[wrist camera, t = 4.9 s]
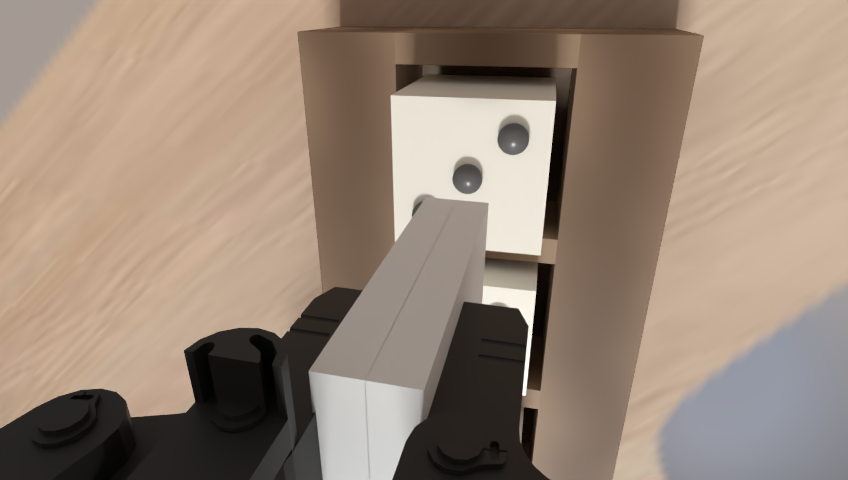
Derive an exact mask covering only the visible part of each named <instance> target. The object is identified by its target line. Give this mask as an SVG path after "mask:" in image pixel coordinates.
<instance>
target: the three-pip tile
mask: <svg viewBox="0 0 848 480" xmlns="http://www.w3.org/2000/svg"><path fill="white" fill-rule="evenodd" d="M555 108H556V78H541V77H502V76H463V75H426V76H424V77H422V78H420V79H419V80H417V81H415V82H413V83H412V84H410V85H408V86H406V87H404V88H403V89H401V90H399V91H397V92H396V93H394V94H392V95H391V126H392V160H393V195H394V229H395V242H396V241H397V239H398V238H399V236H400V235H401V233H402V232H403V230H404V229H405V227H406V226H407V224H408V223H409V221H410V220H411V218H412V217H413V216H414V214H415V213H416V211H417V210H418V208H419V207H420V205H421V204H422V202H423V201H424V199H425V198H426V197H429V198H440V199H451V200H462V201H474V202H485V203H489V206H488V221H487V236H486V250H487V251H498V252H508V253H519V254H529V255H540V256H541V247H542V237H543V227H544V217H545V207H546V197H547V187H548V177H549V167H550V157H551V148H552V138H553V128H554V118H555Z"/></svg>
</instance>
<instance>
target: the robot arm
mask: <svg viewBox="0 0 848 480" xmlns="http://www.w3.org/2000/svg"><path fill="white" fill-rule="evenodd" d="M488 206H489V203H485V202H474V201H462V200H451V199H440V198H429V197H426V198H425V199H424V201H423V202H422V204H421V205H420V207H419V208H418V210H417V211H416V213H415V214H414V216H413V217H412V218H411V220H410V221H409V223H408V224H407V226H406V227H405V229H404V230H403V232H402V233H401V235H400V236H399V238H398V239H397V241H396V242H395V244H394V245H393V247H392V248H391V250H390V251H389V253H388V254H387V256H386V257H385V258H384V260H383V261H382V263H381V264H380V266H379V267H378V269H377V270H376V272H375V273H374V275H373V276H372V278H371V279H370V281H369V282H368V284H367V285H366V287H365V288H364V290H357V289H349V288H342V287H334V288H332V289H330V290H328V291H327V292H325V293H323V294H322V295H320V296H318V297H316V298H315V299H314V300H313V301H312V302H311V303H310V304H309V306H308V307H307V308H306V309H305V311H304V312H303V313H302V314H301V318H298V319H297V320H296V321H295V323H294V324H293V325H292V326H291V328H290V332H289V331H287V332H286V334H285V335H284V336H283V337H282V339H281V338H280V337H278V336H277V335H276V334H275V333H272V332H269V331H266V330H263V329H259V328H237V329H231V330H226V331H220V332H217V333H215V334H212V335H210V336H207V337H205V338H202V339H200V340H198V341H197V342H196V343H194V344H193V345H191V346H190V347H188V348H187V349H186V350H184V353H185V358H186V362H187V366H188V371H189V375H190V380H191V384H192V389H193V393H194V397H195V403H194V404H193V405H192V407H191V408H190V409H189V410H188V411H187V412H186V413H181V414H171V415H157V416H144V417H130V414H129V410H128V407H127V404H126V401H125V400H124V399H123V398H122V397H121V396H120V395H119V394H118V393H117V392H113V391H109V390H104V389H91V390H80V391H76V392H73V393H69V394H66V395H62V396H59V397H56V398H54V399H52V400H50V401H48V402H46V403H44V404H42V405H40V406H38V407H36V408H34V409H32V410H31V411H29V412H27V413H26V414H24V415H22V416H21V417H19V418H17V419H16V420H14V421H12V422H11V423H9V424H7V425H6V426H4V427H2V428H1V429H0V480H550V479H549V478H547V477H546V476H545V475H544V474H543V473H541V472H540V471H539V470H538V469H537V468H536V467H535V466H534V465H533V464H532V462H531V461H530V460H529V458H528V457H527V455H526V454H525V452H524V449H523V447H522V444H521V442H520V433H519V425H520V414H521V403H522V393H523V382H524V371H525V360H526V348H527V338H528V327H529V326H528V324H527V322H526V321H525V319H524V317H523V316H522V314H521V312H520V310H519V309H518V308H510V307H503V306H495V305H487V304H482V298H483V282H484V267H485V252H486V236H487V221H488Z"/></svg>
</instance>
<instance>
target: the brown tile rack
mask: <svg viewBox="0 0 848 480" xmlns="http://www.w3.org/2000/svg"><path fill="white" fill-rule="evenodd" d="M703 37H704V35H700V34H695V33H691V32H686V31H682V30H678V29H580V28H433V27H334V28H326V29H317V30H309V31H300V32H298V42H299V52H300V63H301V73H302V83H303V94H304V104H305V114H306V125H307V135H308V145H309V156H310V166H311V176H312V186H313V197H314V207H315V217H316V228H317V238H318V248H319V259H320V269H321V279H322V290H323V293H325V292H327V291H328V290H330V289H332V288H334V287H342V288H349V289H357V290H364V288H365V287H366V285H367V284H368V282H369V281H370V279H371V278H372V276H373V275H374V273H375V272H376V270H377V269H378V267H379V266H380V264H381V263H382V261H383V260H384V258H385V257H386V256H387V254H388V253H389V251H390V250H391V248H392V247H393V245H394V244H395V229H394V195H393V160H392V126H391V95H392V94H394V93H396V92H397V91H399V90H401V89H403V88H404V87H406V86H408V85H410V84H412V83H413V82H415V81H417V80H419V79H420V78H422V65H457V66H502V67H548V68H572V74H571V83H570V92H569V101H568V110H567V119H566V128H565V137H564V147H563V156H562V165H561V174H560V183H559V192H558V201H557V202H546V207H545V217H544V227H543V237H542V247H541V256H540V255H529V254H519V253H508V252H498V251H487V250H486V252H485V257H486V258H496V259H506V260H516V261H527V262H537V263H547V264H550V273H549V282H548V291H547V301H546V310H545V319H544V328H543V337H541V336H533V335H532V338H531V348H530V358H529V368H528V379H527V389H526V396H524V395H522V403H521V407H527V408H534V418H533V427H532V436H531V443H526V442H521V444H522V447H523V449H524V452H525V454H526V455H527V457H528V458H529V460H530V461H531V462H532V464H533V465H534V466H535V467H536V468H537V469H538V470H539V471H540V472H541V473H543V474H544V475H545V476H546V477H547V478H549V479H550V480H612V479H613V474H614V469H615V464H616V460H617V455H618V450H619V445H620V440H621V435H622V430H623V426H624V421H625V416H626V411H627V406H628V401H629V396H630V392H631V387H632V382H633V377H634V372H635V367H636V363H637V358H638V353H639V348H640V343H641V338H642V333H643V329H644V324H645V319H646V314H647V309H648V304H649V299H650V295H651V290H652V285H653V280H654V275H655V270H656V265H657V261H658V256H659V251H660V246H661V241H662V236H663V231H664V227H665V222H666V217H667V212H668V207H669V202H670V197H671V193H672V188H673V183H674V178H675V173H676V168H677V163H678V159H679V154H680V149H681V144H682V139H683V134H684V129H685V125H686V120H687V115H688V110H689V105H690V100H691V95H692V91H693V86H694V81H695V76H696V71H697V66H698V61H699V57H700V52H701V47H702V42H703Z"/></svg>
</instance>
